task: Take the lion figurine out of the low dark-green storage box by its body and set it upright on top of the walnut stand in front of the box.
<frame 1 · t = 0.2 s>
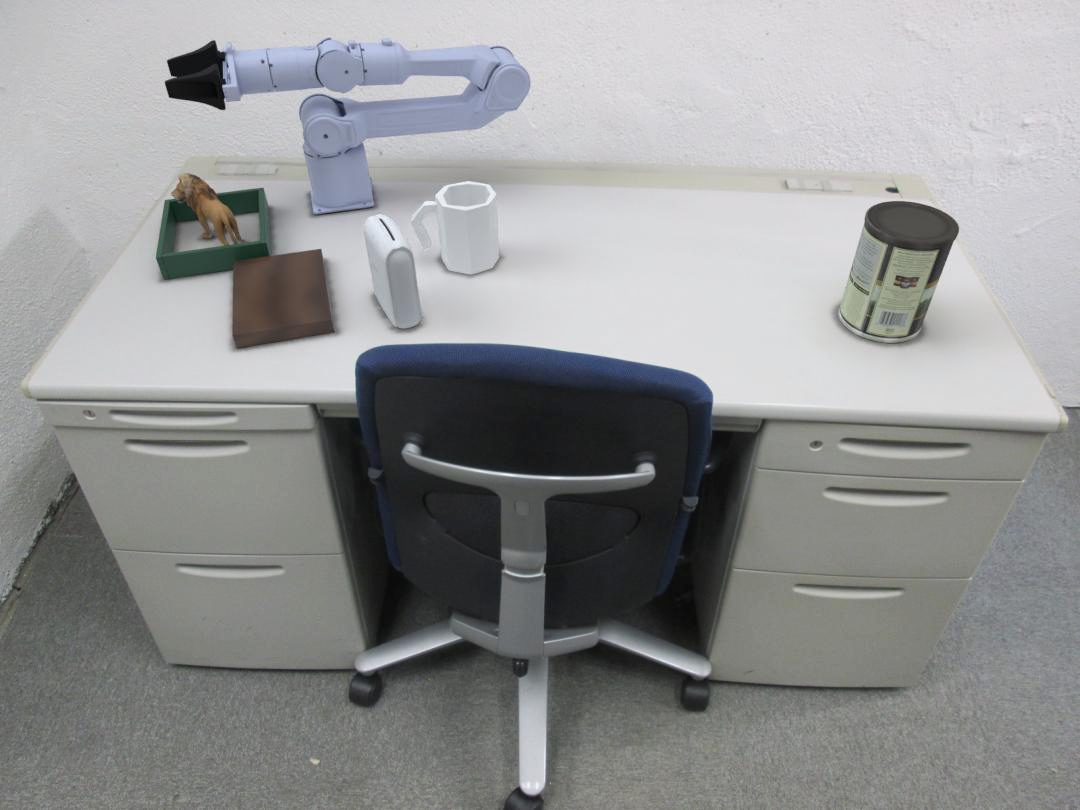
hand: (167, 78, 108), 21 cm above the table, tool horizontal, fingers open, 7 cm apart
storage box: (219, 241, 117), on the table
stand: (283, 301, 105), on the table
mug: (457, 260, 113), on the table
lion figurine: (220, 242, 117), resting in storage box
coffee can: (877, 320, 101), on the table
photo printer: (398, 309, 104), on the table
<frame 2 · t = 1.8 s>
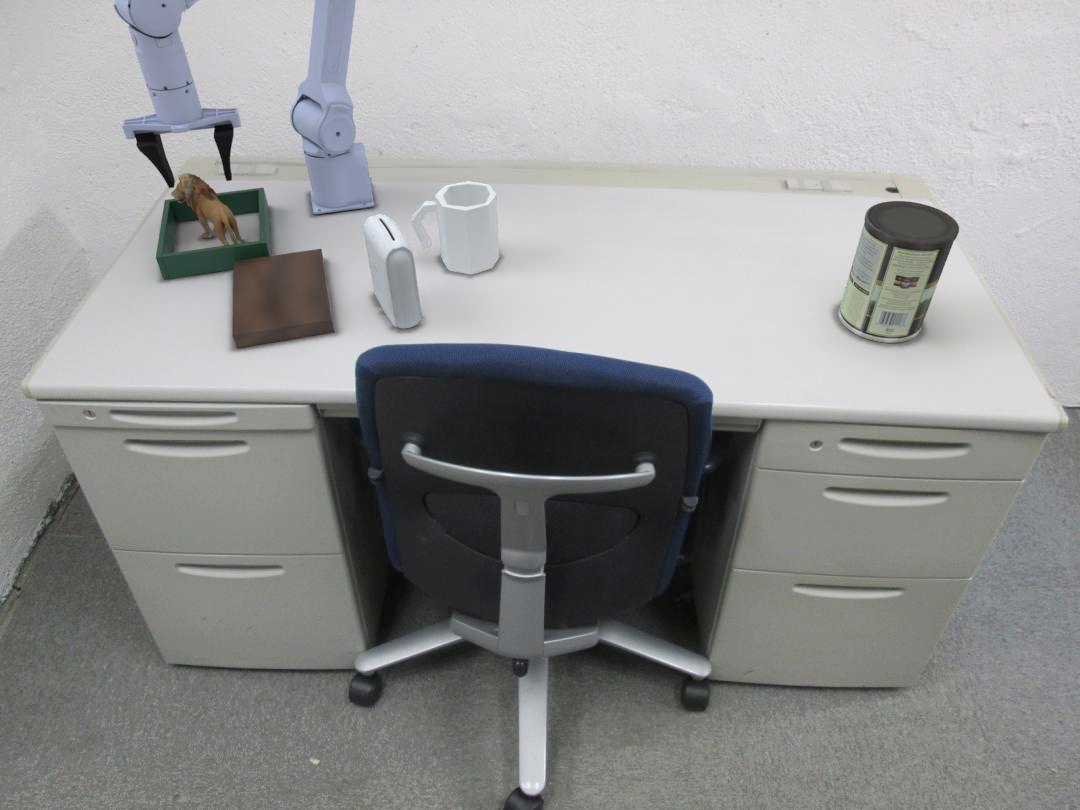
hand: (200, 181, 111), 10 cm above the table, tool pointing down, fingers open, 7 cm apart
nothing on the table moved.
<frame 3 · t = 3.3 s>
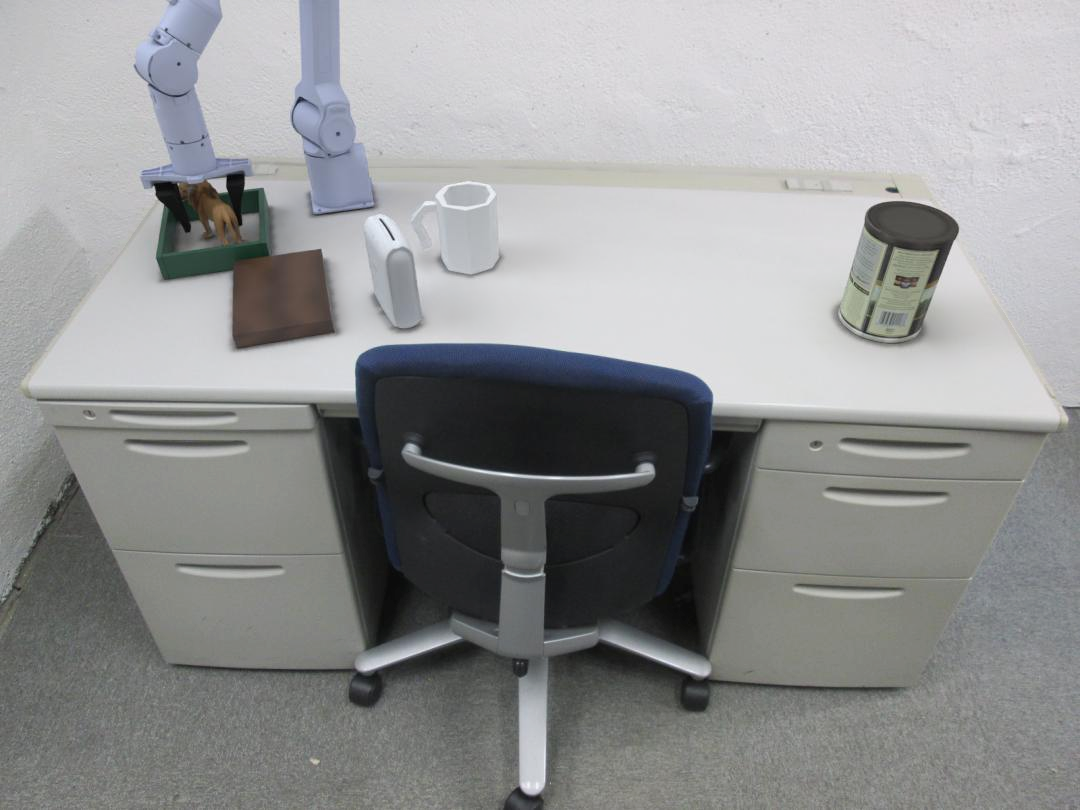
hand: (214, 226, 115), 3 cm above the table, tool pointing down, fingers closed on lion figurine, 6 cm apart
lion figurine: (220, 242, 117), resting in storage box, touching gripper
everything else where it was.
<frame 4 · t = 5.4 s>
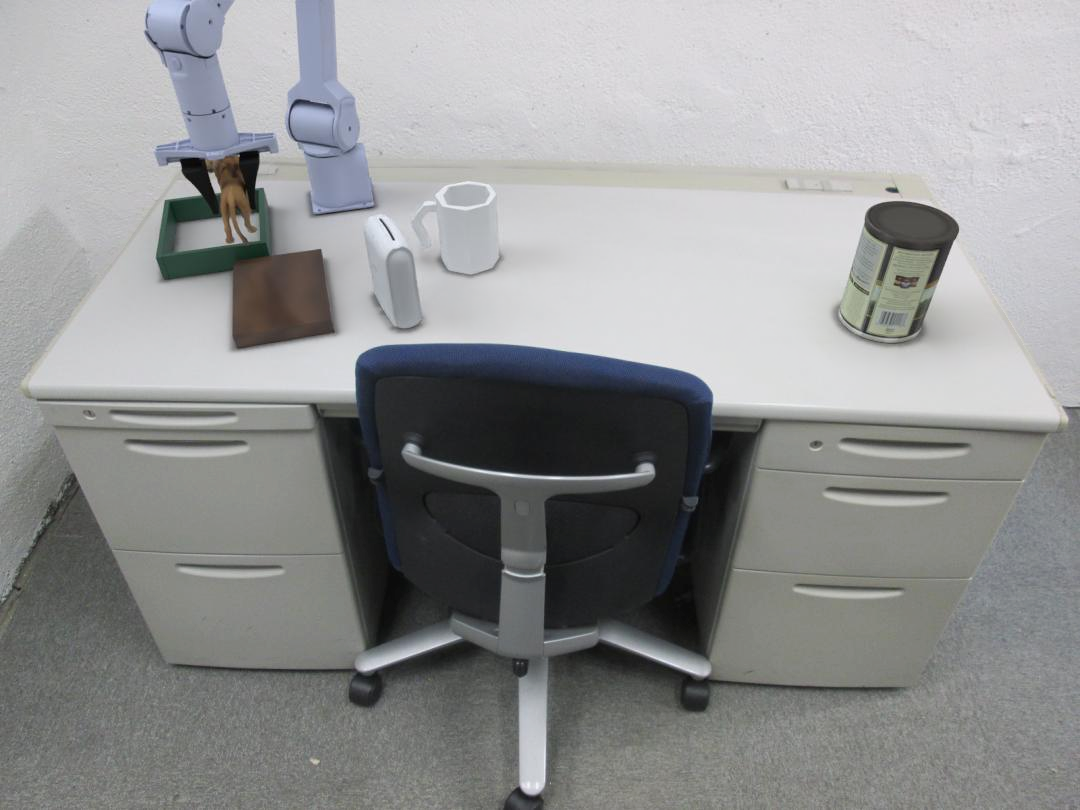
hand: (235, 208, 105), 9 cm above the table, tool pointing down, fingers closed on lion figurine, 4 cm apart
lion figurine: (235, 224, 107), point 7 cm above the table, touching gripper
everything else where it was.
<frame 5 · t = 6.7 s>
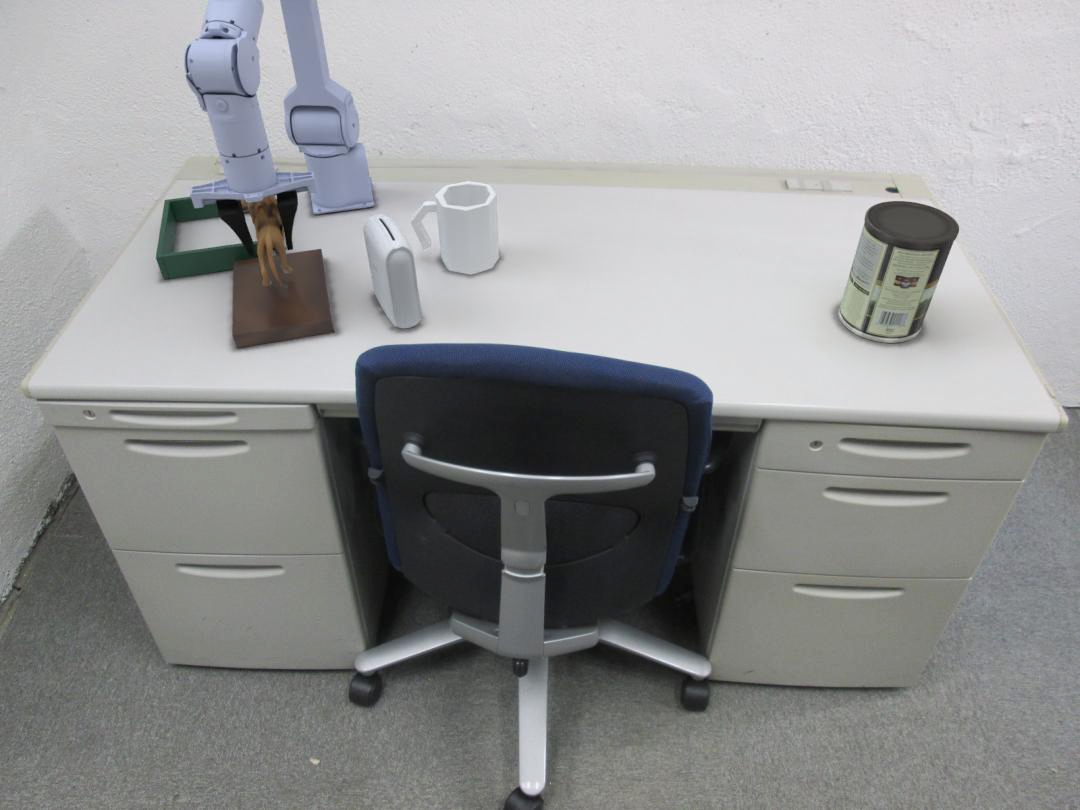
hand: (270, 249, 101), 7 cm above the table, tool pointing down, fingers closed on lion figurine, 4 cm apart
lion figurine: (270, 264, 104), point 4 cm above the table, touching gripper
everything else where it was.
when the fingers open (5 cm above the table, at t = 7.9 s): lion figurine stays where it is, resting on stand.
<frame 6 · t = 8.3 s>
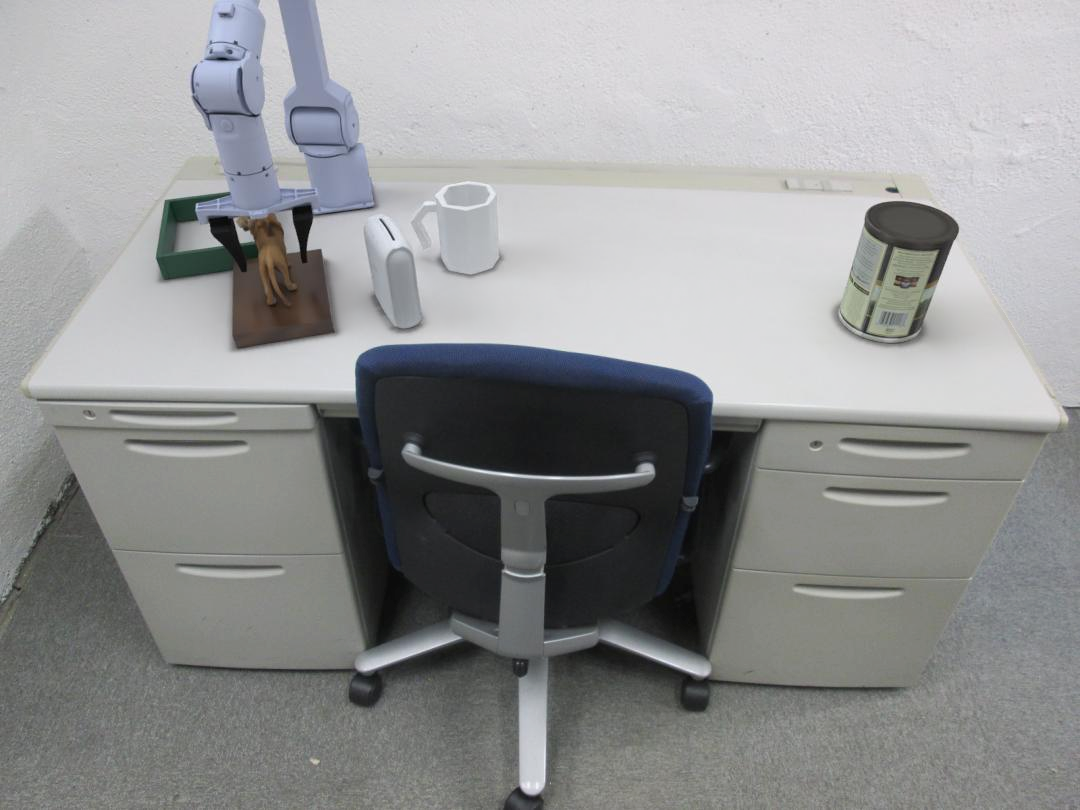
hand: (274, 263, 103), 5 cm above the table, tool pointing down, fingers open, 7 cm apart
lion figurine: (275, 281, 105), point 2 cm above the table, touching stand
everything else where it was.
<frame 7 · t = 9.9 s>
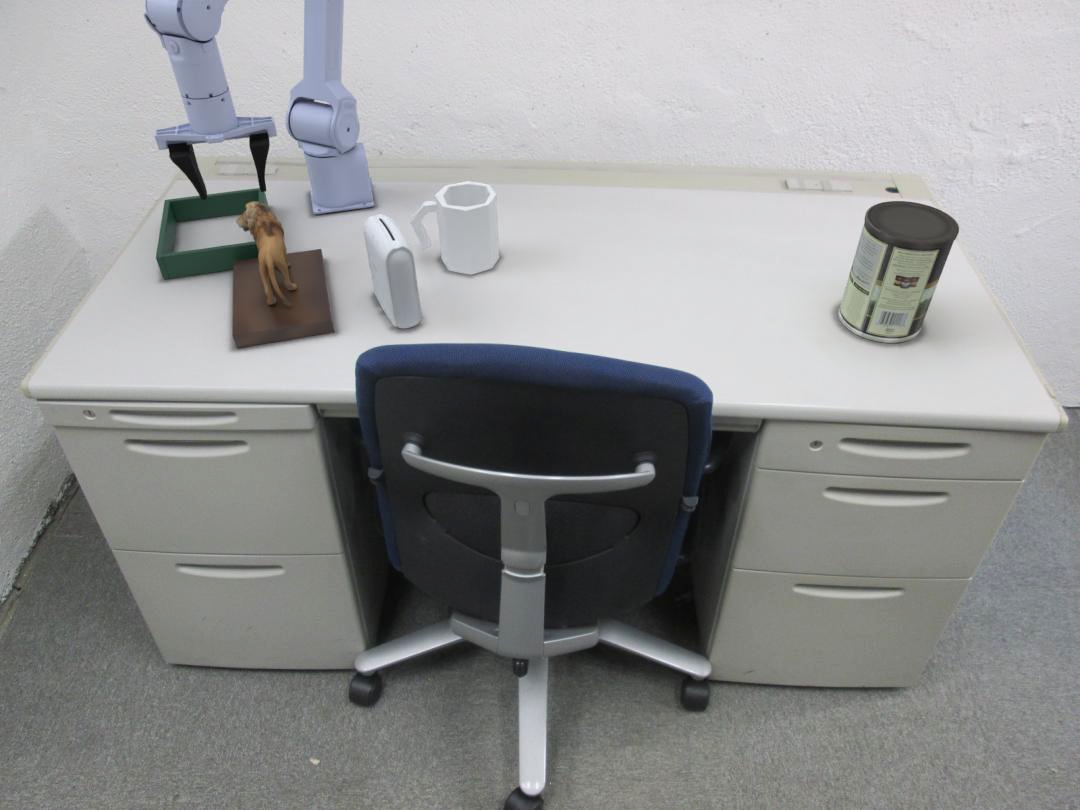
hand: (234, 192, 106), 10 cm above the table, tool pointing down, fingers open, 7 cm apart
nothing on the table moved.
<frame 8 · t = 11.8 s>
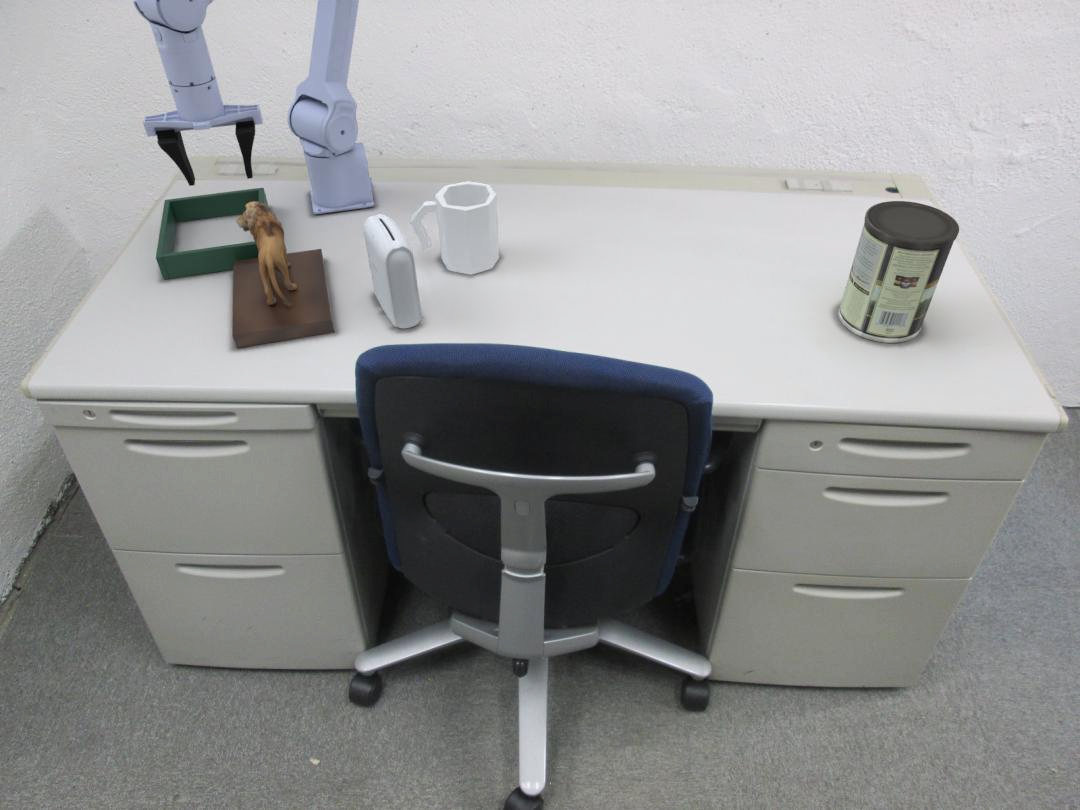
hand: (221, 178, 109), 10 cm above the table, tool pointing down, fingers open, 7 cm apart
nothing on the table moved.
at the end: lion figurine inside the target area on the stand (2.4 cm from its centre), point 1.8 cm above the stand's base; lion figurine tilted 0°; the gripper is holding nothing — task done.
